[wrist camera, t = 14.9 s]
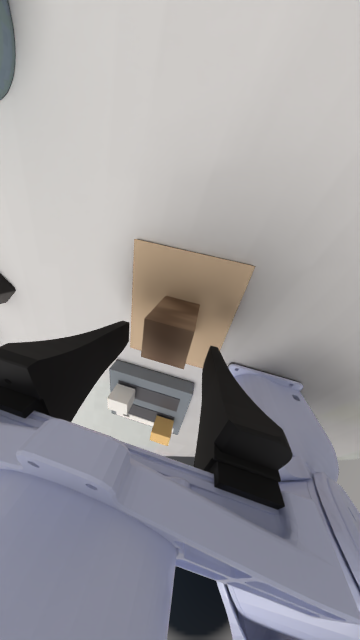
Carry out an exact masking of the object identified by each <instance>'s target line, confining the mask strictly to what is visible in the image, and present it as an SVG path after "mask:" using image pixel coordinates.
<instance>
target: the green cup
mask: <svg viewBox="0 0 360 640" xmlns="http://www.w3.org/2000/svg"><path fill="white" fill-rule="evenodd" d="M14 66H15V40H14V32H13V24H12V20H11V15H10V10H9V5H8V1H7V0H0V100H1V99H2V98H3V97H4V96H5V95H6V93H7V92H8V90H9V87H10V85H11V82H12V79H13V74H14Z"/></svg>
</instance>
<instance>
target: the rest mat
mask: <svg viewBox="0 0 360 640" xmlns="http://www.w3.org/2000/svg"><path fill="white" fill-rule="evenodd" d="M254 268H255V266H252V265H247V264H243V263H239V262H234V261H230V260H225V259H221V258H217V257H212V256H208V255H204V254H199V253H195V252H190V251H186V250H182V249H177V248H173V247H168V246H164V245H160V244H155V243H151V242H146V241H142V240H138V239H134V262H133V288H132V313H131V339H130V347H131V348H134V349H137V350H141V351H142V340H143V329H144V318H145V317H146V316H147V315H148V314H149V313H150V312H151V311H152V310H153V309H154V308H155V306H156V305H157V304H158V303H159V302H160V301H161V300H162V299H163V298H164V297H165V296H169V297H173V298H177V299H181V300H185V301H189V302H193V303H196V304H200V307H199V312H198V317H197V322H196V328H195V332H194V336H193V339H192V343H191V346H190V349H189V353H188V356H187V360H186V364H189V365H192V366H196V367H199V368H203V365H204V361H205V358H206V356H207V353H208V350H209V348H210V345H211V346H214V347H218V349H219V351H220V349H221V346H222V344H223V342H224V339H225V337H226V335H227V332H228V330H229V327H230V325H231V323H232V320H233V318H234V316H235V313H236V311H237V309H238V306H239V304H240V301H241V299H242V297H243V294H244V292H245V290H246V287H247V285H248V282H249V280H250V278H251V275H252V273H253V271H254Z"/></svg>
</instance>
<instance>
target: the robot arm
mask: <svg viewBox="0 0 360 640" xmlns="http://www.w3.org/2000/svg"><path fill="white" fill-rule="evenodd" d="M128 342H129V322H125V321H120V322H117V323H114V324H112V325H109V326H106V327H103V328H100V329H97V330H94V331H90V332H87V333H84V334H80V335H75V336H71V337H65V338H59V339H53V340H46V341H36V342H22V343H8V344H5V345H3V346H1V347H0V640H167V633H168V625H169V615H170V607H171V599H172V590H173V581H174V572H175V566H178V567H180V568H183V569H186V570H189V571H191V572H194V573H197V574H199V575H202V576H205V577H208V578H211V579H214V580H216V581H217V585H218V588H219V591H220V594H221V597H222V600H223V603H224V605H225V608H226V611H227V615H228V619H229V623H230V628H231V632H232V637H233V640H360V513H359V511H358V510H357V508H356V507H355V505H354V504H353V502H352V501H351V499H350V498H349V496H348V495H347V494H346V492H345V491H344V489H343V488H342V487H341V486H340V485H339V484H338V483H337V479H338V475H339V468H338V461H337V457H336V453H335V450H334V448H333V445H332V443H331V441H330V440H329V438H328V436H327V434H326V433H325V431H324V430H323V428H322V426H321V425H320V423H319V421H318V420H317V418H316V417H315V415H314V413H313V412H312V410H311V408H310V407H309V405H308V404H307V402H306V400H305V399H304V397H303V395H302V394H301V392H300V391H301V389H302V388H303V385H302V384H301V383H300V382H296V381H293V380H289V379H285V378H282V377H278V376H275V375H271V374H268V373H264V372H261V371H257V370H254V369H250V368H247V367H243V366H240V365H236V364H230V365H229V366H228V367H227V365H226V363H225V361H224V359H223V357H222V355H221V353H220V351H219V349H218V347H214V346H211V345H210V348H209V350H208V353H207V356H206V358H205V361H204V365H203V372H202V406H201V416H200V424H199V432H198V440H197V447H196V454H195V461H194V467H192V466H189V465H187V464H184V463H181V462H178V461H175V460H173V459H169V458H167V457H164V456H161V455H158V454H156V453H153V452H150V451H147V450H144V449H141V448H139V447H136V446H133V445H130V444H127V443H124V442H122V441H119V440H117V439H115V438H113V437H111V436H108V435H105V434H102V433H100V432H97V431H94V430H91V429H88V428H85V427H83V426H80V425H77V424H74V423H71V421H72V419H73V418H74V416H75V414H76V413H77V411H78V409H79V408H80V406H81V405H82V403H83V402H84V400H85V398H86V397H87V395H88V394H89V392H90V391H91V389H92V388H93V386H94V385H95V384H96V382H97V381H98V379H99V378H100V377H101V375H102V374H103V373H104V371H105V370H106V369H107V368H108V367H109V366H110V365H111V363H112V362H113V361H114V360H115V359H116V358H117V357H118V355H119V354H120V353H121V352H122V351H123V349H124V348H125V346H126V345H127V343H128ZM235 368H238V369H235Z"/></svg>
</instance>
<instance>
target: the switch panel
mask: <svg viewBox="0 0 360 640" xmlns="http://www.w3.org/2000/svg"><path fill="white" fill-rule="evenodd" d="M109 371H110V390H111V392H112V390H113V389H114V388H115V386H116V385H117V384H120V385H124V386H127V387H130V388H133V389H135V400H134V402H133V404H132V406H131V408H130V410H129V412H128V414H127V415H125V414H122V413H119V412H116V411H113V410H112V413H113V414H116V415H119V416H122V417H125V418H128V419H131V420H134V421H137V422H140V423H143V424H146V425H149V426H152V427H153V425H154V422H155V419H156V416H160V417H163V418H167V419H170V420H173V421H174V423H173V428H172V432H171V433H173V434H176V435H178V432H179V430H180V427H181V425H182V422H183V419H184V417H185V414H186V411H187V409H188V406H189V403H190V401H191V398H192V395H193V389H194V383H192V382H189V381H185V380H182V379H179V378H176V377H172V376H169V375H166V374H162V373H159V372H156V371H152V370H149V369H146V368H142V367H139V366H136V365H132V364H129V363H126V362H122V361H119V360H116V362H115V363H114V364H113V365H112V366H111V368H110V369H109Z"/></svg>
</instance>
